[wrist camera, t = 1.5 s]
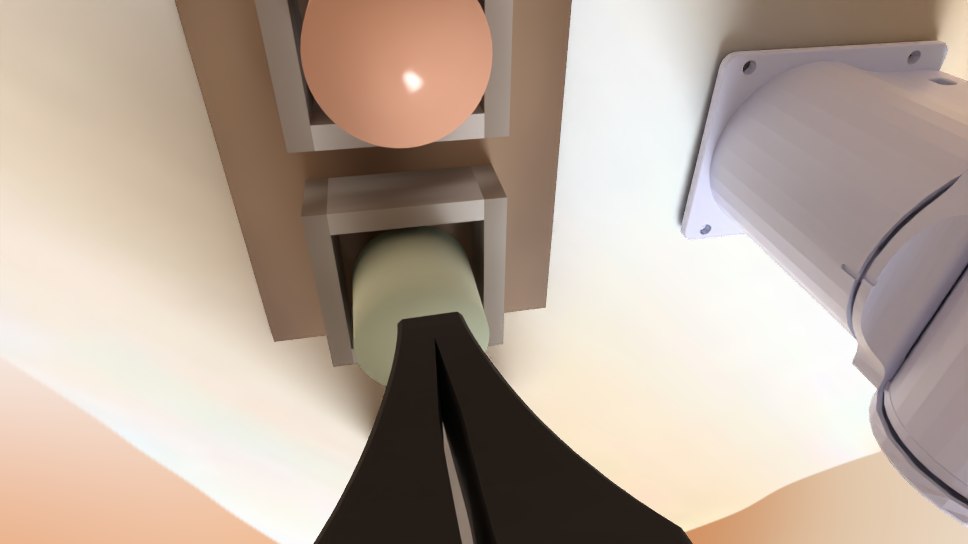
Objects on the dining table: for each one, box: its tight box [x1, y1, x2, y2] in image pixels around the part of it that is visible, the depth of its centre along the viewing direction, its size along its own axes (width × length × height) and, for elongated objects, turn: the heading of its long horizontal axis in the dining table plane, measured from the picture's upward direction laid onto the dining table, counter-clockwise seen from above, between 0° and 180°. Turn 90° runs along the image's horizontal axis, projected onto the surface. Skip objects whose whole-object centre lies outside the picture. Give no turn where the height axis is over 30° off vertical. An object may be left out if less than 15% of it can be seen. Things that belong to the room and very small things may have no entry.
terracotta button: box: [300, 0, 493, 148], centre depth 15 cm, size 4×4×4 cm
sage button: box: [352, 226, 490, 387], centre depth 20 cm, size 4×4×4 cm
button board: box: [175, 0, 572, 367], centre depth 17 cm, size 12×26×3 cm, turn 179°
